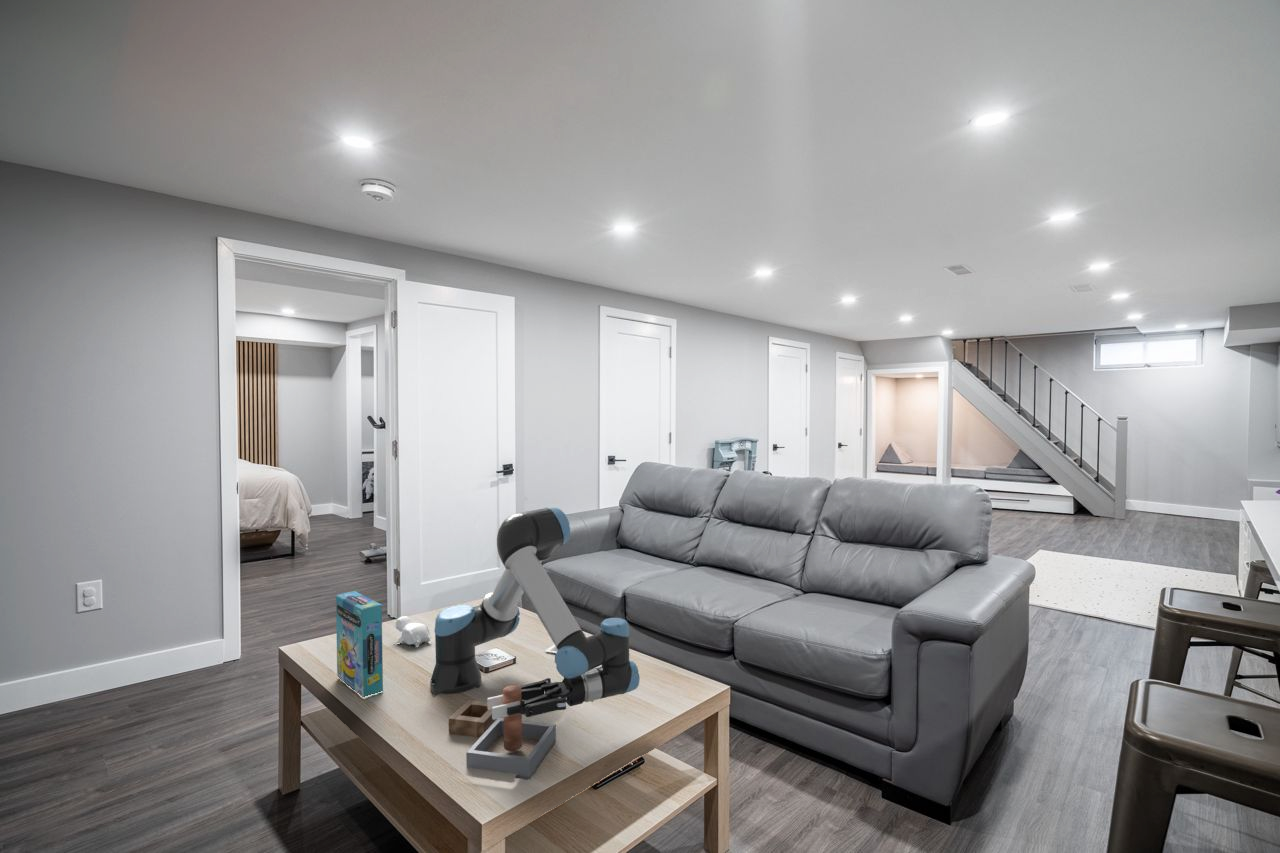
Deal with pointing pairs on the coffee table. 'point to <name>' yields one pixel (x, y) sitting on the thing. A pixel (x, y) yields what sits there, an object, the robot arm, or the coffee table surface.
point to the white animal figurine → (412, 631)
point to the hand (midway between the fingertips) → (490, 708)
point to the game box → (359, 643)
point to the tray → (512, 763)
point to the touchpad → (552, 649)
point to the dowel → (512, 720)
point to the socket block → (471, 719)
